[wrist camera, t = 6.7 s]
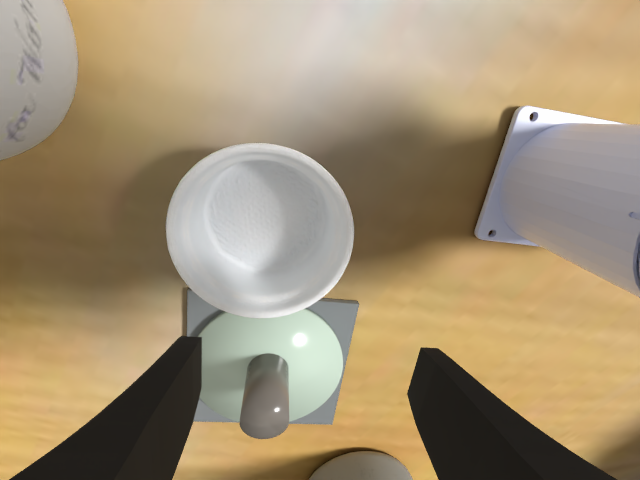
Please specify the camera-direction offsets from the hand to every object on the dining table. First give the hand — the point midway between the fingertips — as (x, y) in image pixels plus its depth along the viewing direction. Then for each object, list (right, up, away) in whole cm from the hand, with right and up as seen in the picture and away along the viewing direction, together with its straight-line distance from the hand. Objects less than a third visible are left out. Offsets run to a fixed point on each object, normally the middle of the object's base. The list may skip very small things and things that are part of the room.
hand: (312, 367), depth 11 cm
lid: (-3, -4, +12) cm, 13 cm away
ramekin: (-3, +6, +9) cm, 11 cm away
